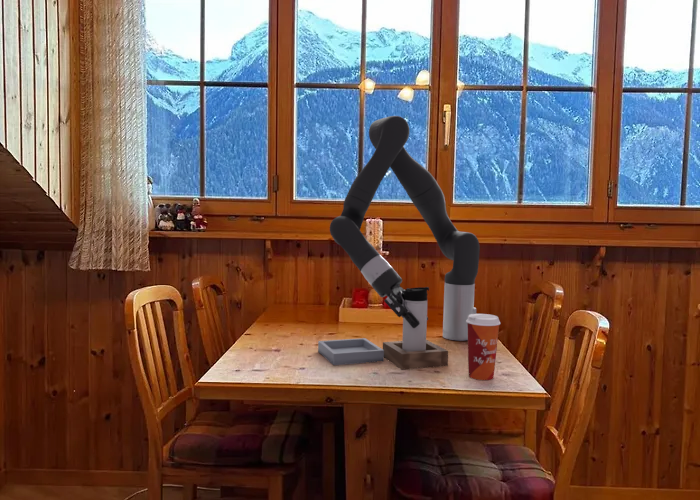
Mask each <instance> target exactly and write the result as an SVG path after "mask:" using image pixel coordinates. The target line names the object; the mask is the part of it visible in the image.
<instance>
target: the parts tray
mask: <svg viewBox="0 0 700 500" xmlns="http://www.w3.org/2000/svg"><path fill="white" fill-rule="evenodd" d="M317 343H318V345H317V347H318V348H317V352H318V353H319V354H320V355H321V356H323V358H325V359H326V360H327V361H328V362H329V363H330V364H331V365H332V366H342V365H351V364H353V365H354V364H355V363H356V364H364V363H365V364H367V363H366V362H369V363H378V362H377V361H382V362H384V360H385V358H384V350H383V348H382V347H380V346H378V345H377V344H375V343H374V342H372V341H370V340H369V339H368V338H365V337H362V338H348V339H347V338H346V339H331V340H330V339H329V340H328V339H327V340H318V342H317ZM356 364H355V365H356Z"/></svg>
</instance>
